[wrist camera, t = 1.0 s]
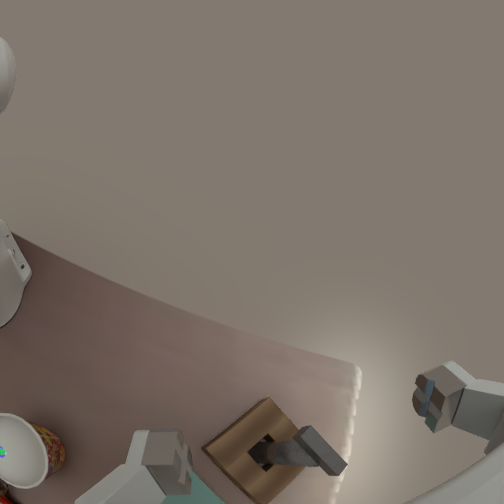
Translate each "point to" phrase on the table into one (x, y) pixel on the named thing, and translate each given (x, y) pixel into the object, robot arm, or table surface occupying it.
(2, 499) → the dragon fruit
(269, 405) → the walnut key-slot block
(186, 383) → the table surface
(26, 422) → the smoothie
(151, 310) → the table surface
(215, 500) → the teal rubber mat
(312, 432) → the gunmetal T-key
